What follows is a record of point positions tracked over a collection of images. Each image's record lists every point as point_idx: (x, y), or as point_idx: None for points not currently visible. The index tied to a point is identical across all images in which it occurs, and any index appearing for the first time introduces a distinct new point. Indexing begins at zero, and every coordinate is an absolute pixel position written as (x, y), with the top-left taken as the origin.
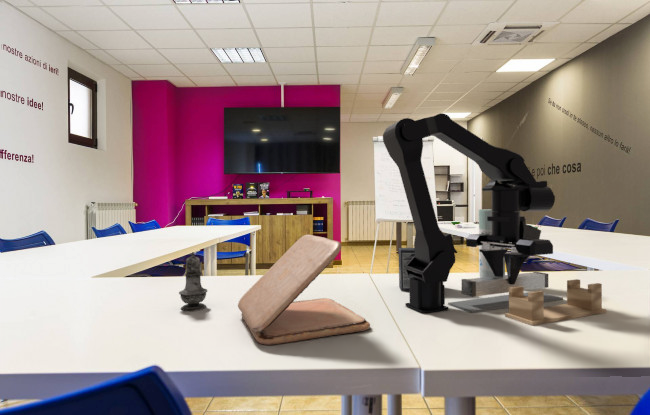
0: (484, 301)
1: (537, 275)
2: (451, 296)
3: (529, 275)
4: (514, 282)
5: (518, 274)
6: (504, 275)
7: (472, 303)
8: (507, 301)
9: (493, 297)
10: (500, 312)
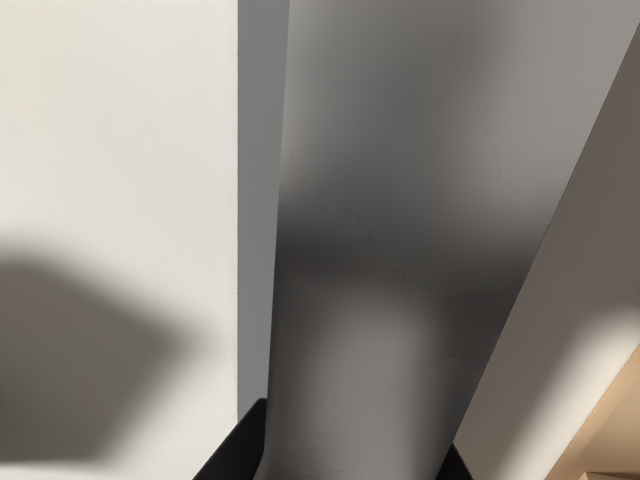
0: None
1: (631, 23)
2: (100, 401)
3: (502, 206)
4: (451, 452)
5: (314, 261)
6: (272, 440)
7: None
8: None
9: (255, 305)
10: (474, 470)
